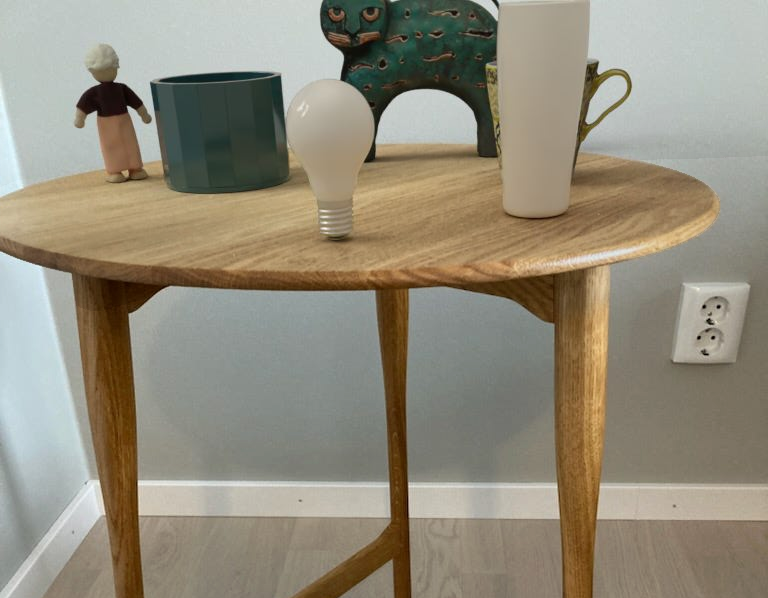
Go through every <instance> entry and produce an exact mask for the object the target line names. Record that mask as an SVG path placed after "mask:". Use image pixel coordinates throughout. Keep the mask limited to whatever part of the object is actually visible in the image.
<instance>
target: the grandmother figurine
mask: <svg viewBox="0 0 768 598" xmlns="http://www.w3.org/2000/svg"><path fill="white" fill-rule="evenodd" d="M84 66H85V68H86V70H87V71H88V73H90V74H91V76H92V77H93V79H94V80H96V81H97V82H98V83H99V84H95V85H93V86H91V87H89V88H88V89H86V90H85V91H84V92H83V93H82V95H81V96H80V98H79V99H78V101H77V103H76V105H75V107H76V110H75V118H74V119H73V125H74V127H75V128H77V129H83V128H85V124H86V122H85V121H86V120H87V117H88V115H91V114H94V113H96V127H97V133H98V138H99V145H100V150H101V154H102V159H103V162H104V166H105V170H106V175H105V178H104V181H105V182H108V183H122V182H125V181H127V177H125V175H124V174H123V172H125V171H128V177H129V179H131V180H144V179H146V178H147V177H148V172H147V171H146V169H145V168H144V163H143V159H142V158H143V157H142V153H141V149H140V144H139V141H138V137H137V133H136V129H135V126H134V123H133V119H132V116H131V114H130V111H129V108H128V107H130V108H131V109H133V110H134V111H135V112H136V114H137V115H138V116H139V117H140V118H141V119H140V120H141V121H142V123H143V124H145V125H149V124H151V123H152V122H153V117H152V116H151V114H150V113H149V112H148V110H147V107H146V106H145V104H144V101H143V100H142V99H141V98H140V97H139V95H137V93H136V92H135V91H134V89H132V88H131V87H130V86H128V85H127V84H126V83H124V82H117V81H115V80H116V78H117V77H118V69H120V58H119V56H118V54H117V53H116V51H115V49H114V48H113V46H112V45H109V44H108V43H100V42H99V43H97V44H94V45H92V46H91V48H89V49H88V50H87V52H86V54H85V57H84Z"/></svg>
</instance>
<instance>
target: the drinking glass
mask: <svg viewBox="0 0 768 598" xmlns="http://www.w3.org/2000/svg"><path fill="white" fill-rule="evenodd" d="M497 11H498V10H497ZM497 13H498V14H497V21H498V25H497V85H498V102H499V119H500V137H501V155H502V176H503V181H502V203H501V204H502V209H503V211H504V212H505V213H506V214H508V215H511V216H513V217H518V218H527V219H542V218H543V219H545V218H553V217H556V216H557V217H558V216H559V215H562V214H564V213H565V212H566V211H567V210H568V208H569V206H570V198H571V197H570V196H571V182H572V179H571V176H572V168H573V160H574V153H575V146H576V139H577V131H578V124H579V117H580V110H581V103H582V96H583V90H584V82H585V75H586V67H587V58H589V43H590V25H591V24H590V23H591V21H590V20H591V0H523V1H522V0H521V1H507V2H506V1H505V2H500V3H499V11H498V12H497Z"/></svg>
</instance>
